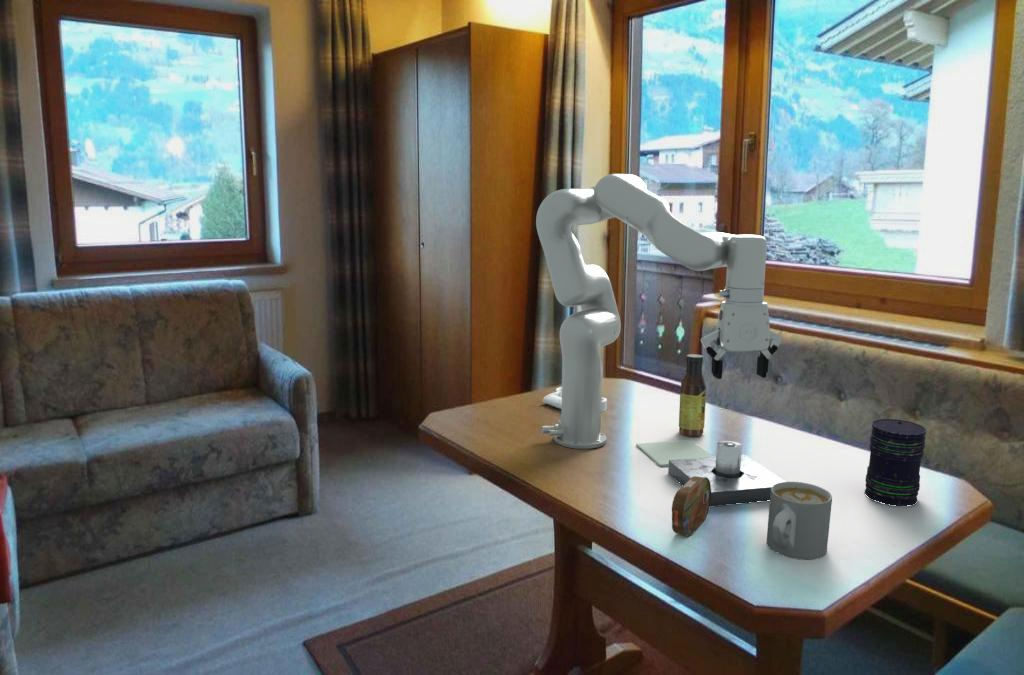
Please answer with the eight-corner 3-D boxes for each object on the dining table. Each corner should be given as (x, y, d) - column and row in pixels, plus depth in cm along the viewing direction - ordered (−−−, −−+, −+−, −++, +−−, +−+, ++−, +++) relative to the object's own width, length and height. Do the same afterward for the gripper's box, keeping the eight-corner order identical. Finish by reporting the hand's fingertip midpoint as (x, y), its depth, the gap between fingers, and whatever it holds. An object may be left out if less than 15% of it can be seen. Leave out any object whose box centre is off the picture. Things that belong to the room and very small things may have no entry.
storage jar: (916, 511, 154) (925, 437, 151) (861, 500, 158) (869, 429, 155) (918, 493, 162) (927, 423, 159) (866, 484, 167) (874, 416, 164)
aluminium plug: (721, 491, 162) (724, 448, 160) (709, 482, 166) (712, 440, 165) (743, 489, 163) (746, 447, 161) (731, 480, 168) (734, 439, 166)
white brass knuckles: (535, 403, 223) (574, 395, 232) (578, 419, 210) (617, 409, 218) (535, 391, 223) (574, 384, 232) (579, 406, 209) (618, 398, 218)
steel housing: (707, 507, 154) (708, 492, 153) (668, 473, 171) (668, 460, 171) (789, 499, 158) (790, 485, 158) (743, 467, 175) (744, 454, 175)
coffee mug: (789, 528, 145) (794, 477, 143) (838, 550, 137) (844, 495, 135) (741, 547, 138) (745, 493, 136) (790, 570, 130) (795, 513, 128)
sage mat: (660, 466, 175) (660, 464, 175) (636, 445, 188) (636, 443, 188) (718, 462, 178) (718, 460, 178) (690, 441, 192) (690, 439, 191)
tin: (684, 544, 139) (686, 498, 137) (666, 539, 140) (669, 494, 139) (711, 513, 151) (714, 472, 150) (695, 510, 153) (698, 468, 151)
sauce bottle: (706, 437, 195) (711, 359, 191) (680, 437, 195) (685, 358, 191) (700, 429, 201) (705, 353, 197) (675, 428, 201) (680, 352, 197)
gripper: (710, 299, 157) (706, 382, 161) (792, 297, 160) (786, 380, 163) (697, 293, 165) (693, 373, 168) (775, 292, 167) (770, 371, 170)
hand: (739, 376), depth 165 cm, fingers open, 9 cm apart
